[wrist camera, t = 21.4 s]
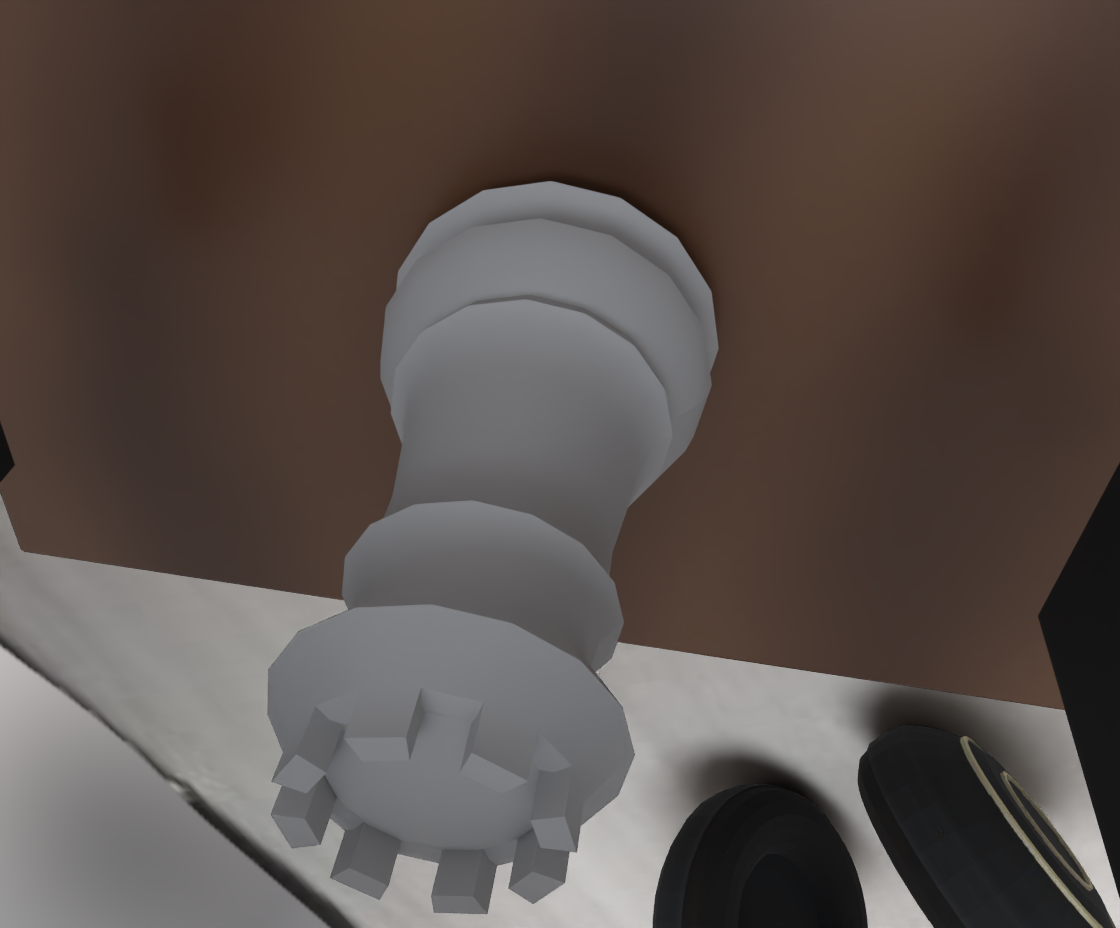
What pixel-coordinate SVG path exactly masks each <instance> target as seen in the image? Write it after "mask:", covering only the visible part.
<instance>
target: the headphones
mask: <svg viewBox="0 0 1120 928" xmlns="http://www.w3.org/2000/svg"><path fill="white" fill-rule="evenodd" d="M858 787H859V791H860V794H861V798H862V801H863V803H864V806H865V809H866V811H867V813H868V816H869V818H870V820H871V822H872V825H873V827H874V829H875V831H876V833H877V835H878V837H879V839H880V841H881V843H882V844H883V846H884V848H885V850H886V852H887V854H888V855H889V857H890V859H891V861H892V863H893V865H894V867H895V868H896V870H897V872H898V873H899V875H900V877H901V878H902V880H903V881H904V883H905V885H906V886H907V888H908V890H909V891H910V893H911V894H912V896H913V898H914V899H915V901H916V902H917V904H918V905H919V907H920V908H921V910H922V911H923V913H924V914H925V915H926V917H927V918H928V920H929V921H930V923H931V924H932V925H933V927H934V928H1116V927H1115V925H1114V923H1113V921H1112V919H1111V917H1110V916H1109V914H1108V912H1107V910H1106V907H1105V905H1104V903H1103V901H1102V899H1101V897H1100V895H1099V894H1098V892H1097V890H1096V889H1095V887H1094V885H1093V884H1092V882H1091V881H1090V879H1089V877H1088V875H1087V874H1086V872H1085V871H1084V869H1083V867H1082V866H1081V864H1080V863H1079V861H1078V860H1077V858H1076V857H1075V855H1074V854H1073V852H1072V851H1071V850H1070V848H1069V847H1068V845H1067V844H1066V843H1065V841H1064V840H1063V838H1062V837H1061V836H1060V834H1059V833H1058V832H1057V830H1056V829H1055V828H1054V826H1053V825H1052V824H1051V822H1050V821H1049V820H1048V819H1047V817H1046V816H1045V815H1044V813H1043V812H1042V811H1041V810H1040V808H1039V807H1038V806H1037V805H1036V804H1035V802H1034V801H1033V800H1032V799H1031V797H1030V796H1029V795H1028V794H1027V793H1026V792H1025V791H1024V789H1023V788H1022V787H1021V786H1020V785H1019V784H1018V783H1017V782H1016V781H1015V780H1014V779H1013V778H1012V777H1011V776H1010V775H1009V773H1008V772H1007V771H1006V770H1005V769H1004V768H1003V767H1002V766H1001V765H1000V764H999V763H998V762H997V761H996V760H995V759H994V758H993V757H991V756H990V755H989V754H987V753H986V752H985V751H984V750H983V749H982V748H981V747H980V746H979V745H978V744H977V743H976V742H974V741H973V740H972V739H970V738H969V737H967V736H963V737H959V736H956V735H953V734H950V733H947V732H944V731H941V730H938V729H934V728H929V727H922V726H912V725H902V726H899V727H896V728H894V729H891V730H889V731H887V732H886V733H884V734H883V735H881V736H880V737H878V738H877V739H876V740H874V741H873V742H871V743H870V744H869V747H868V750H867V751H866V752H865V754H864V755H863V756H862V757H861V759H860V762H859V771H858ZM653 928H868V924H867V915H866V908H865V902H864V897H863V892H862V888H861V884H860V881H859V877H858V874H857V871H856V868H855V866H854V863H853V860H852V858H851V856H850V854H849V852H848V850H847V848H846V846H845V844H844V842H843V841H842V839H841V837H840V836H839V834H838V832H837V831H836V829H835V828H834V826H833V825H832V824H831V822H830V821H829V820H828V818H827V817H826V816H825V815H824V814H823V813H822V812H821V811H820V810H819V809H818V808H817V806H815V805H814V804H813V803H811V802H810V801H809V800H807V799H806V798H804V797H802V796H800V795H798V794H796V793H794V792H792V791H790V790H787V789H785V788H782V787H779V786H776V785H741V786H737V787H734V788H731V789H727V790H724V791H721V792H719V793H717V794H715V795H713V796H712V797H710V798H709V799H707V800H706V801H704V802H703V803H701V804H700V805H699V807H698V808H697V809H696V810H695V811H694V812H693V813H692V814H691V815H690V816H689V817H688V818H687V820H686V822H685V823H684V825H683V826H682V828H681V830H680V831H679V833H678V835H677V836H676V838H675V840H674V841H673V843H672V845H671V847H670V850H669V852H668V855H667V857H666V860H665V862H664V865H663V867H662V870H661V874H660V878H659V882H658V887H657V891H656V895H655V904H654V914H653Z"/></svg>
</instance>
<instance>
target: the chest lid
mask: <svg viewBox="0 0 1120 928" xmlns="http://www.w3.org/2000/svg"><path fill="white" fill-rule="evenodd" d="M548 181H553V182H557V183H561V184H566V185H570V186H574V187H578V188H582V189H586V190H590V191H594V192H598V193H603V194H607V195H611V196H615V197H619V198H621V199H623V200H624V201H626V202H627V203H629V204H630V205H631V206H633V207H634V208H636V209H637V210H639V211H640V212H642V213H643V214H644V215H646V216H647V217H649V218H650V219H652V220H653V221H654V222H656V223H657V224H659V225H660V226H662V227H663V228H664V229H666V230H667V231H669V232H670V233H672V234H673V235H675V236H676V237H677V238H678V239H679V241H680V242H681V244H682V246H683V247H684V249H685V250H686V252H687V253H688V255H689V257H690V258H691V260H692V261H693V263H694V265H695V266H696V268H697V269H698V271H699V272H700V274H701V276H702V277H703V279H704V280H705V282H706V283H707V285H708V287H709V288H710V290H711V292H712V300H713V307H714V315H715V323H716V331H717V339H718V347H719V349H718V352H717V355H716V358H715V361H714V363H713V366H712V369H711V372H710V376H711V383H712V386H711V389H710V392H709V395H708V398H707V400H706V403H705V406H704V409H703V412H702V414H701V417H700V420H699V423H698V426H697V429H696V431H695V434H694V437H693V438H692V440H691V442H690V444H689V445H688V447H687V449H686V451H685V452H684V453H683V454H682V455H681V456H680V457H679V458H678V459H677V460H676V461H675V462H674V463H673V464H672V465H671V466H670V467H669V468H668V469H667V470H666V471H665V472H664V473H663V474H662V475H661V476H659V477H658V478H657V479H656V480H655V481H654V482H653V483H652V484H651V485H650V486H649V487H648V488H647V489H646V490H645V491H644V492H643V493H642V494H641V495H640V496H639V497H638V498H637V499H636V500H635V501H634V502H633V503H632V504H631V505H630V506H629V507H628V508H627V511H626V514H625V517H624V520H623V523H622V526H621V529H620V532H619V535H618V538H617V541H616V543H615V546H614V549H613V553H612V560H611V567H610V574H609V576H610V578H611V579H612V580H613V581H614V582H615V587H616V591H617V595H618V599H619V604H620V608H621V612H622V616H623V621H624V624H623V627H622V630H621V633H620V636H619V638H618V641H617V642H621V643H628V644H634V645H641V646H648V647H654V648H661V649H667V650H674V651H680V652H687V653H694V654H700V655H707V656H713V657H720V658H726V659H733V660H740V661H746V662H753V663H759V664H766V665H772V666H779V667H786V668H792V669H799V670H805V671H812V672H818V673H825V674H832V675H838V676H845V677H851V678H858V679H864V680H871V681H878V682H884V683H891V684H897V685H904V686H910V687H917V688H924V689H930V690H937V691H943V692H950V693H956V694H963V695H970V696H976V697H983V698H989V699H996V700H1002V701H1009V702H1016V703H1022V704H1029V705H1035V706H1042V707H1048V708H1055V709H1062V710H1065V708H1064V705H1063V701H1062V698H1061V694H1060V691H1059V687H1058V684H1057V681H1056V677H1055V674H1054V670H1053V667H1052V663H1051V660H1050V656H1049V653H1048V650H1047V646H1046V643H1045V639H1044V636H1043V632H1042V629H1041V626H1040V622H1039V619H1038V615H1039V613H1040V611H1041V609H1042V607H1043V605H1044V603H1045V601H1046V600H1047V598H1048V596H1049V594H1050V592H1051V590H1052V588H1053V586H1054V585H1055V583H1056V581H1057V579H1058V577H1059V575H1060V573H1061V571H1062V570H1063V568H1064V566H1065V564H1066V562H1067V560H1068V558H1069V556H1070V555H1071V553H1072V551H1073V549H1074V547H1075V545H1076V543H1077V541H1078V540H1079V538H1080V536H1081V534H1082V532H1083V530H1084V528H1085V526H1086V525H1087V523H1088V521H1089V519H1090V517H1091V515H1092V513H1093V511H1094V510H1095V508H1096V506H1097V504H1098V502H1099V500H1100V498H1101V496H1102V495H1103V493H1104V491H1105V489H1106V487H1107V485H1108V483H1109V481H1110V480H1111V478H1112V476H1113V474H1114V472H1115V470H1116V468H1117V466H1118V465H1119V463H1120V0H0V422H1V425H2V428H3V431H4V434H5V437H6V440H7V443H8V446H9V449H10V452H11V454H12V457H13V460H14V463H15V466H14V467H13V468H12V469H11V471H10V472H9V473H8V474H7V475H6V476H5V478H4V479H3V480H2V481H1V482H0V493H1V496H2V499H3V501H4V504H5V507H6V510H7V512H8V515H9V518H10V521H11V524H12V526H13V529H14V532H15V535H16V537H17V540H18V543H19V546H20V549H21V550H23V551H24V552H30V553H36V554H43V555H49V556H56V557H63V558H69V559H76V560H82V561H89V562H95V563H102V564H109V565H115V566H122V567H128V568H135V569H141V570H148V571H155V572H161V573H168V574H174V575H181V576H187V577H194V578H201V579H207V580H214V581H220V582H227V583H233V584H240V585H247V586H253V587H260V588H266V589H273V590H280V591H286V592H293V593H299V594H306V595H312V596H319V597H326V598H332V599H339V600H344V598H343V596H342V587H343V575H344V563H345V556H346V555H347V554H348V552H349V551H350V550H351V549H352V547H353V546H354V545H355V543H356V542H357V541H358V540H359V538H360V537H361V536H362V534H363V533H364V532H365V531H366V529H367V528H368V527H369V525H370V524H372V523H375V522H377V521H379V520H381V519H383V518H384V516H385V513H386V511H387V508H388V506H389V503H390V501H391V498H392V495H393V490H394V485H395V480H396V474H397V469H398V464H399V458H400V453H401V448H402V443H401V440H400V437H399V435H398V432H397V429H396V426H395V424H394V421H393V418H392V416H391V406H390V403H389V400H388V398H387V395H386V392H385V389H384V387H383V384H382V381H381V378H380V361H381V350H382V340H383V330H384V320H385V309H386V306H387V304H388V303H389V301H390V300H391V298H392V297H393V295H394V294H395V292H396V287H397V277H398V271H399V269H400V268H401V266H402V265H403V263H404V261H405V260H406V258H407V257H408V255H409V254H410V252H411V251H412V249H413V247H414V246H415V244H416V243H417V241H418V240H419V238H420V237H421V235H422V233H423V232H424V230H425V229H426V227H427V226H428V224H429V223H430V222H432V221H433V220H435V219H437V218H438V217H440V216H442V215H443V214H445V213H447V212H448V211H450V210H452V209H453V208H455V207H456V206H458V205H460V204H461V203H463V202H465V201H466V200H468V199H470V198H471V197H473V196H475V195H476V194H478V193H480V192H481V191H483V190H489V189H497V188H504V187H511V186H518V185H526V184H533V183H540V182H548Z"/></svg>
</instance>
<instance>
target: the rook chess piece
mask: <svg viewBox="0 0 1120 928" xmlns="http://www.w3.org/2000/svg"><path fill="white" fill-rule="evenodd" d="M718 349H719V347H718V339H717V331H716V323H715V315H714V307H713V300H712V292H711V290H710V288H709V287H708V285H707V283H706V282H705V280H704V279H703V277H702V276H701V274H700V272H699V271H698V269H697V268H696V266H695V265H694V263H693V261H692V260H691V258H690V257H689V255H688V253H687V252H686V250H685V249H684V247H683V246H682V244H681V242H680V241H679V239H678V238H677V237H676V236H675V235H673V234H672V233H670V232H669V231H667V230H666V229H664V228H663V227H662V226H660V225H659V224H657V223H656V222H654V221H653V220H652V219H650V218H649V217H647V216H646V215H644V214H643V213H642V212H640V211H639V210H637V209H636V208H634V207H633V206H631V205H630V204H629V203H627V202H626V201H624V200H623V199H621V198H619V197H615V196H611V195H607V194H603V193H598V192H594V191H590V190H586V189H582V188H578V187H574V186H570V185H566V184H561V183H557V182H553V181H548V182H540V183H533V184H526V185H518V186H511V187H504V188H497V189H489V190H483V191H481V192H480V193H478V194H476V195H475V196H473V197H471V198H470V199H468V200H466V201H465V202H463V203H461V204H460V205H458V206H456V207H455V208H453V209H452V210H450V211H448V212H447V213H445V214H443V215H442V216H440V217H438V218H437V219H435V220H433V221H432V222H430V223H429V224H428V226H427V227H426V229H425V230H424V232H423V233H422V235H421V237H420V238H419V240H418V241H417V243H416V244H415V246H414V247H413V249H412V251H411V252H410V254H409V255H408V257H407V258H406V260H405V261H404V263H403V265H402V266H401V268H400V269H399V271H398V277H397V287H396V292H395V294H394V295H393V297H392V298H391V300H390V301H389V303H388V304H387V306H386V309H385V320H384V330H383V340H382V350H381V361H380V378H381V381H382V384H383V387H384V389H385V392H386V395H387V398H388V400H389V403H390V406H391V416H392V418H393V421H394V424H395V426H396V429H397V432H398V435H399V437H400V440H401V443H402V448H401V453H400V458H399V464H398V469H397V474H396V480H395V485H394V490H393V495H392V498H391V501H390V503H389V506H388V508H387V511H386V513H385V516H384V518H383V519H381V520H379V521H377V522H375V523H372V524H370V525H369V527H368V528H367V529H366V531H365V532H364V533H363V534H362V536H361V537H360V538H359V540H358V541H357V542H356V543H355V545H354V546H353V547H352V549H351V550H350V551H349V552H348V554H347V555H346V556H345V563H344V575H343V587H342V596H343V598H344V601H345V603H346V605H347V607H348V609H349V610H347V611H345V612H342V613H340V614H338V615H335V616H333V617H331V618H328V619H326V620H324V621H321V622H319V623H317V624H314V625H312V626H310V627H307V628H305V629H303V630H300V631H298V632H297V634H296V635H295V636H294V637H293V639H292V640H291V641H290V642H289V644H288V645H287V646H286V648H285V649H284V650H283V651H282V653H281V654H280V655H279V656H278V658H277V659H276V660H275V661H274V663H273V664H272V665H271V667H270V668H269V669H268V716H269V719H270V721H271V724H272V726H273V728H274V731H275V733H276V736H277V738H278V741H279V743H280V746H281V748H282V750H283V754H282V757H281V759H280V761H279V764H278V766H277V769H276V771H275V774H274V776H273V779H272V781H271V782H274V783H277V784H280V785H282V787H281V790H280V792H279V795H278V797H277V800H276V802H275V805H274V807H273V810H272V812H271V816H272V818H273V819H274V821H275V822H276V824H277V826H278V827H279V829H280V830H281V832H282V834H283V835H284V837H285V838H286V840H287V841H288V843H289V845H290V846H291V848H298V847H307V846H316V845H320V844H321V842H322V839H323V836H324V833H325V830H326V827H327V824H328V821H329V818H331V819H332V820H333V821H334V822H335V823H337V824H338V825H339V826H340V827H342V828H343V829H344V830H345V833H344V837H343V840H342V843H341V846H340V849H339V852H338V855H337V858H336V861H335V864H334V867H333V870H332V873H331V876H330V878H332V879H334V880H336V881H338V882H340V883H343V884H345V885H347V886H349V887H352V888H354V889H356V890H358V891H360V892H363V893H365V894H367V895H369V896H372V897H374V898H376V899H378V900H380V898H381V897H382V895H383V893H384V892H385V890H386V889H387V887H388V885H389V882H390V878H391V874H392V871H393V867H394V864H395V860H396V857H397V854H401V855H405V856H410V857H414V858H418V859H423V860H427V861H431V862H436V863H439V866H438V870H437V874H436V878H435V882H434V886H433V890H432V894H431V897H432V904H433V910H434V913H467V914H487V913H488V908H489V903H490V898H491V893H492V888H493V883H494V878H495V873H496V868H497V866H498V865H502V864H506V863H510V862H513V867H512V872H511V878H510V883H509V889H510V890H512V891H513V892H515V893H517V894H518V895H520V896H521V897H523V898H524V899H526V900H528V901H529V902H531V903H532V904H534V903H535V902H537V901H538V900H540V899H541V898H543V897H544V896H546V895H547V894H549V893H550V892H552V891H553V890H555V889H556V888H558V887H559V886H561V885H562V884H564V883H565V879H566V872H567V865H568V858H569V851H570V852H577V848H578V841H579V833H580V826H581V825H582V824H584V823H585V822H586V821H587V820H589V819H590V818H591V817H592V816H593V815H595V814H596V813H597V812H598V811H600V810H601V809H602V808H603V807H605V806H606V805H607V804H608V803H609V802H611V801H612V800H613V799H614V798H616V797H617V796H618V794H619V792H620V790H621V787H622V785H623V782H624V780H625V777H626V775H627V773H628V770H629V768H630V765H631V763H632V760H633V758H634V756H635V754H634V750H633V746H632V742H631V738H630V734H629V730H628V726H627V723H626V719H625V715H624V711H623V707H622V706H621V705H620V703H619V702H618V701H617V699H616V698H615V697H614V696H613V694H612V693H611V692H610V690H609V689H608V688H607V687H606V685H605V684H604V683H603V682H602V680H601V679H600V678H599V676H598V675H597V674H596V673H595V672H596V671H597V670H598V669H600V668H601V667H602V666H603V665H604V664H605V663H607V662H608V661H609V660H610V659H611V658H612V655H613V653H614V650H615V647H616V644H617V641H618V638H619V636H620V633H621V630H622V627H623V624H624V621H623V616H622V612H621V608H620V604H619V599H618V595H617V591H616V587H615V582H614V581H613V580H612V579H611V578H610V576H609V574H610V567H611V560H612V553H613V549H614V546H615V543H616V541H617V538H618V535H619V532H620V529H621V526H622V523H623V520H624V517H625V514H626V511H627V508H628V507H629V506H630V505H631V504H632V503H633V502H634V501H635V500H636V499H637V498H638V497H639V496H640V495H641V494H642V493H643V492H644V491H645V490H646V489H647V488H648V487H649V486H650V485H651V484H652V483H653V482H654V481H655V480H656V479H657V478H658V477H659V476H661V475H662V474H663V473H664V472H665V471H666V470H667V469H668V468H669V467H670V466H671V465H672V464H673V463H674V462H675V461H676V460H677V459H678V458H679V457H680V456H681V455H682V454H683V453H684V452H685V451H686V449H687V447H688V445H689V444H690V442H691V440H692V438H693V437H694V434H695V431H696V429H697V426H698V423H699V420H700V417H701V414H702V412H703V409H704V406H705V403H706V400H707V398H708V395H709V392H710V389H711V386H712V383H711V376H710V372H711V369H712V366H713V363H714V361H715V358H716V355H717V352H718Z"/></svg>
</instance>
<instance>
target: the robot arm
mask: <svg viewBox="0 0 1120 928" xmlns="http://www.w3.org/2000/svg"><path fill="white" fill-rule="evenodd" d="M14 466H15V463H14V460H13V457H12V454H11V452H10V449H9V446H8V443H7V440H6V437H5V434H4V431H3V428H2V425H1V422H0V482H1V481H2V480H3V479H4V478H5V476H6V475H7V474H8V473H9V472H10V471H11V469H12V468H13V467H14ZM1038 619H1039V622H1040V626H1041V629H1042V632H1043V636H1044V639H1045V643H1046V646H1047V650H1048V653H1049V656H1050V660H1051V663H1052V667H1053V670H1054V674H1055V677H1056V681H1057V684H1058V687H1059V691H1060V694H1061V698H1062V701H1063V705H1064V708H1065V712H1066V715H1067V718H1068V722H1069V725H1070V729H1071V732H1072V736H1073V739H1074V743H1075V746H1076V749H1077V753H1078V756H1079V760H1080V763H1081V767H1082V770H1083V774H1084V777H1085V780H1086V784H1087V787H1088V791H1089V794H1090V798H1091V801H1092V805H1093V808H1094V811H1095V815H1096V818H1097V822H1098V825H1099V829H1100V832H1101V835H1102V839H1103V842H1104V846H1105V849H1106V853H1107V856H1108V860H1109V863H1110V866H1111V870H1112V873H1113V877H1114V880H1115V884H1116V887H1117V891H1118V894H1119V897H1120V463H1119V465H1118V466H1117V468H1116V470H1115V472H1114V474H1113V476H1112V478H1111V480H1110V481H1109V483H1108V485H1107V487H1106V489H1105V491H1104V493H1103V495H1102V496H1101V498H1100V500H1099V502H1098V504H1097V506H1096V508H1095V510H1094V511H1093V513H1092V515H1091V517H1090V519H1089V521H1088V523H1087V525H1086V526H1085V528H1084V530H1083V532H1082V534H1081V536H1080V538H1079V540H1078V541H1077V543H1076V545H1075V547H1074V549H1073V551H1072V553H1071V555H1070V556H1069V558H1068V560H1067V562H1066V564H1065V566H1064V568H1063V570H1062V571H1061V573H1060V575H1059V577H1058V579H1057V581H1056V583H1055V585H1054V586H1053V588H1052V590H1051V592H1050V594H1049V596H1048V598H1047V600H1046V601H1045V603H1044V605H1043V607H1042V609H1041V611H1040V613H1039V615H1038Z"/></svg>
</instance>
